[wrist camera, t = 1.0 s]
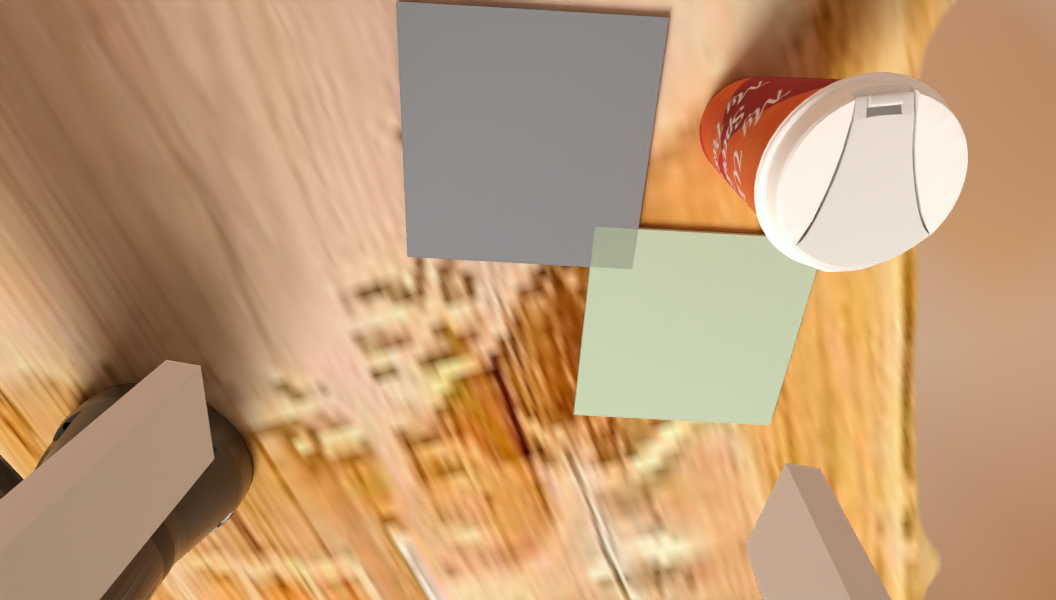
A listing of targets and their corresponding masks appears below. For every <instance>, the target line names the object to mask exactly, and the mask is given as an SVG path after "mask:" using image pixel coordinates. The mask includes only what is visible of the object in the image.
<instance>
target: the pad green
mask: <svg viewBox="0 0 1056 600" xmlns="http://www.w3.org/2000/svg"><path fill="white" fill-rule="evenodd" d="M599 228H600V229H599ZM603 228H604V230H603ZM605 228H606V230H605ZM607 228H608V227H595V234H594V239H595V240H598V241H595V240H594V239H593V248H592V250H593V251H592V252H593V253H592V254H594V255H593V257H591V267H590V268H589V278H588V287H587V296H586V305H585V314H584V323H583V332H582V341H581V350H580V359H579V368H578V377H577V387H576V396H575V405H574V415H590V416H609V417H627V418H645V419H664V420H682V421H700V422H719V423H737V424H755V425H770V423H771V420H772V416H773V413H774V410H775V407H776V403H777V400H778V397H779V393H780V390H781V387H782V384H783V380H784V377H785V374H786V370H787V367H788V364H789V361H790V357H791V354H792V351H793V347H794V344H795V341H796V338H797V334H798V331H799V328H800V324H801V321H802V318H803V315H804V311H805V308H806V305H807V301H808V298H809V295H810V292H811V288H812V285H813V282H814V278H815V275H816V272H817V268H814V267H812V266H809V265H805V264H802V263H799V262H797V261H795V260H793V259H791V258H789V257H787V256H786V255H785V254H783V253H782V252H781V251H779V250H778V249H777V248H776V247H775V246H774V245H773V244H772V243H771V241H770V240H769V239H768V238H767V236H766V235H764V234H746V233H729V232H711V231H694V230H676V229H658V228H641V227H639V228H638V229H631V233H630V229H627V228H626V229H627V230H628V231H627V230H626V229H625V228H619V229H618V228H617V232H616V228H611V230H610V229H609V228H608V230H609V231H607ZM601 229H602V232H601ZM623 229H625V230H624V231H623ZM619 230H620V234H618V233H619ZM621 230H622V231H621ZM632 230H633V231H632ZM598 231H600V232H599V233H600V234H599V233H598ZM605 231H606V233H605ZM625 231H626V232H625ZM596 232H597V233H596ZM603 232H604V233H603ZM607 232H608V233H609V237H608V233H607ZM612 232H613V233H612ZM614 232H615V233H614ZM621 232H623V233H622V234H621ZM627 232H629V233H627ZM635 232H636V233H635ZM637 232H638V233H637ZM601 233H602V234H601ZM610 234H611V235H610ZM630 234H631V235H630ZM637 234H638V235H637ZM605 235H606V237H607V238H603V237H605ZM614 235H615V239H614ZM616 235H617V236H616ZM618 235H620V238H619V237H618ZM623 235H624V236H623ZM634 235H637V236H634ZM596 236H597V237H596ZM599 236H600V239H599ZM632 236H633V237H632ZM617 237H618V238H617ZM621 237H622V238H621ZM625 237H627V238H628V239H629V242H627V241H628V239H627V238H626V239H627V240H626V241H625ZM630 237H631V238H630ZM634 237H635V239H636V238H637V239H636V241H634V240H635V239H634ZM596 238H597V239H596ZM601 238H602V240H601ZM632 238H633V239H634V240H633V239H632ZM603 239H604V241H603ZM605 239H606V240H605ZM607 239H608V241H609V242H608V241H607ZM619 239H620V241H619ZM600 240H601V241H600ZM610 240H611V241H610ZM614 240H615V243H614ZM616 240H617V242H618V243H617V244H618V245H617V244H616ZM605 241H606V242H605ZM600 242H601V243H600ZM603 242H604V244H605V245H606V246H605V245H603ZM607 242H608V243H607ZM610 242H611V244H610ZM612 242H613V243H612ZM621 242H622V243H621ZM624 242H625V243H624ZM632 242H634V243H635V242H636V243H635V244H636V245H635V244H634V243H632ZM594 243H595V244H594ZM598 243H599V244H598ZM628 243H629V246H628ZM630 243H631V244H630ZM597 244H598V245H597ZM619 244H620V245H619ZM594 245H595V247H596V248H595V250H594ZM609 245H610V246H609ZM612 245H613V246H612ZM621 245H622V246H621ZM625 245H626V246H628V247H626V246H625ZM630 245H631V246H630ZM634 245H635V247H634ZM603 246H604V247H603ZM617 246H619V247H620V248H619V247H618V248H617ZM623 246H625V247H624V248H623ZM598 247H599V248H598ZM600 247H602V248H600ZM608 247H610V249H609V248H608ZM612 247H613V248H612ZM614 247H615V249H616V248H617V249H616V250H617V251H618V252H617V251H616V250H615V251H614ZM632 247H634V248H633V249H632ZM603 248H604V249H603ZM625 248H627V249H625ZM598 249H599V250H598ZM601 249H602V252H600V251H601ZM608 249H609V250H610V251H611V253H610V251H608ZM612 249H613V250H612ZM596 250H597V251H596ZM623 250H624V253H623ZM626 250H627V252H626ZM628 250H629V251H628ZM634 250H635V254H634V252H633V251H634ZM604 251H605V252H604ZM612 251H613V252H612ZM594 252H595V253H594ZM596 252H597V253H596ZM603 252H604V253H603ZM616 252H617V253H616ZM628 252H629V253H628ZM630 252H631V253H630ZM600 253H602V255H601V254H600ZM609 253H610V254H609ZM625 253H626V256H625ZM632 253H633V255H632ZM598 254H600V255H598ZM606 254H607V255H606ZM608 254H609V255H608ZM612 254H613V258H612ZM615 254H616V255H617V254H618V255H619V256H618V255H617V256H618V257H620V258H618V257H617V256H616V255H615ZM630 254H631V255H630ZM596 255H597V256H596ZM614 255H615V256H614ZM623 255H624V256H623ZM600 256H601V257H600ZM607 256H608V259H609V258H610V259H609V260H611V265H610V261H609V260H608V259H607V258H605V257H607ZM632 256H633V261H632ZM621 257H622V258H621ZM625 257H627V258H625ZM628 257H629V258H628ZM630 257H631V259H630ZM603 258H604V259H603ZM614 258H615V259H614ZM616 258H617V259H616ZM592 259H593V260H592ZM601 259H602V260H601ZM605 259H606V260H605ZM621 259H622V260H621ZM626 259H627V260H626ZM628 259H629V261H628ZM598 260H599V261H598ZM603 260H604V261H603ZM607 260H608V261H607ZM614 260H615V261H614ZM617 260H618V261H617ZM623 260H624V264H625V265H626V264H627V265H626V266H625V265H624V264H623ZM596 261H597V263H596ZM621 261H622V263H621ZM630 261H631V262H630ZM599 262H600V263H599ZM605 262H607V263H605ZM612 262H613V263H612ZM592 263H593V265H592ZM598 263H599V264H598ZM614 263H615V264H614ZM618 263H619V264H618ZM630 263H631V264H630ZM616 264H618V265H616ZM621 264H622V265H621ZM628 264H629V265H628ZM596 265H597V266H596ZM601 265H602V266H601ZM607 265H609V266H608V268H607V267H606V266H607ZM612 265H613V266H612ZM630 265H631V266H630ZM632 265H633V266H632ZM599 266H600V267H599ZM616 266H617V267H616ZM623 266H625V267H623ZM601 267H602V268H601ZM603 267H604V268H603ZM605 267H606V268H605ZM615 267H616V268H615ZM619 267H620V268H619ZM621 267H622V269H621ZM626 267H628V268H629V269H628V268H626ZM630 267H631V269H630Z"/></svg>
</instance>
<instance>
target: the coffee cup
mask: <svg viewBox="0 0 1056 600" xmlns="http://www.w3.org/2000/svg"><path fill="white" fill-rule="evenodd" d="M700 141H701V146H702V149H703V151H704V153H705V155H706V157H707V158H708V160H709V161H710V163H711V164H712V165H713V166H714V168H715V169H716V170H717V171H718V172H719V173H720V175H721V176H722V177H723V178H724V179H725V180H726V181H727V183H728V184H729V185H730V186H731V187H732V188H733V189H734V190H735V192H736V193H737V194H738V195H739V196H740V197H741V198H742V199H743V200H744V201H745V203H746V204H747V205H748V206H749V207H750V208H751V209H752V210H753V211H754V212H755V214H756V215H757V217H758V220H759V223H760V225H761V228H762V229H763V231H764V233H765V234H766V236H767V238H768V239H769V240H770V241H771V243H772V244H773V245H774V246H775V247H776V248H777V249H778V250H779V251H781V252H782V253H783V254H785V255H786V256H787V257H789V258H791V259H793V260H795V261H797V262H799V263H802V264H805V265H809V266H812V267H814V268H817V269H820V270H823V271H825V272H832V271H853V270H860V269H865V268H868V267H871V266H873V265H876V264H878V263H881V262H885V261H887V260H890V259H892V258H894V257H896V256H899V255H900V254H902V253H904V252H905V251H907V250H909V249H910V248H912V247H913V246H915V245H916V244H918V243H919V242H921V241H922V240H924V239H925V238H927V237H928V236H929V235H931V234H932V233H933V232H934V231H935V230H936V229H937V228H938V227H939V225H940V224H941V223H942V222H943V221H944V219H945V218H946V217H947V215H948V214H949V212H950V211H951V209H952V208H953V206H954V205H955V202H956V200H957V199H958V196H959V194H960V192H961V189H962V186H963V183H964V180H965V177H966V171H967V165H968V149H967V144H966V139H965V135H964V132H963V130H962V127H961V125H960V122H959V121H958V119H957V118H956V117H955V115H954V114H953V112H952V111H951V109H950V108H949V106H948V105H947V103H946V102H945V101H944V99H943V98H942V97H941V96H940V95H939V94H938V93H937V92H936V91H935V90H934V89H933V88H931V87H930V86H928V85H927V84H925V83H923V82H922V81H920V80H918V79H915V78H912V77H909V76H906V75H902V74H896V73H890V72H873V73H866V74H860V75H854V76H851V77H848V78H845V79H842V80H841V79H818V78H792V77H752V78H745V79H742V80H738V81H736V82H734V83H731V84H730V85H728V86H726V87H725V88H723V89H722V90H721V91H720V92H719V93H717V94H716V95H715V97H714V98H713V99H712V100H711V101H710V103H709V104H708V106H707V108H706V110H705V112H704V114H703V117H702V120H701V125H700Z"/></svg>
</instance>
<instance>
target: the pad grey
mask: <svg viewBox="0 0 1056 600" xmlns="http://www.w3.org/2000/svg"><path fill="white" fill-rule="evenodd" d="M396 8H397V30H398V53H399V75H400V98H401V120H402V143H403V165H404V187H405V210H406V232H407V255H408V257H422V258H440V259H457V260H475V261H493V262H511V263H528V264H546V265H564V266H582V267H591V257H593V255H594V254H592V253H593V252H592V251H593V250H592V248H593V239H594V234H595V227H608V228H609V229H610V230H611V228H616V232H617V228H618V229H619V228H625V229H626V228H627V229H630V233H631V229H638V228H639V221H640V214H641V207H642V201H643V194H644V187H645V180H646V173H647V167H648V160H649V153H650V146H651V139H652V132H653V126H654V119H655V112H656V105H657V98H658V92H659V85H660V78H661V71H662V64H663V58H664V51H665V44H666V37H667V30H668V23H669V18H668V17H652V16H635V15H618V14H601V13H584V12H568V11H551V10H534V9H517V8H500V7H484V6H467V5H450V4H433V3H416V2H399V1H396ZM608 228H607V231H609V230H608ZM599 229H600V228H599ZM625 229H623V231H624V230H625ZM627 229H626V230H627ZM603 230H604V228H603ZM605 230H606V228H605ZM621 231H622V230H621ZM627 231H628V230H627ZM632 231H633V230H632ZM599 232H600V231H598V233H599ZM601 232H602V229H601ZM625 232H626V231H625ZM596 233H597V232H596ZM603 233H604V232H603ZM605 233H606V231H605ZM607 233H608V232H607ZM612 233H613V232H612ZM614 233H615V232H614ZM622 233H623V232H621V234H622ZM627 233H629V232H627ZM635 233H636V232H635ZM637 233H638V232H637ZM599 234H600V233H599ZM601 234H602V233H601ZM618 234H620V230H619V233H618ZM610 235H611V234H610ZM630 235H631V234H630ZM637 235H638V234H637ZM637 235H634V236H637ZM616 236H617V235H616ZM623 236H624V235H623ZM596 237H597V236H596ZM608 237H609V233H608ZM618 237H619V238H620V235H618ZM618 237H617V238H618ZM632 237H633V236H632ZM603 238H607V237H606V235H605V237H603ZM621 238H622V237H621ZM626 238H627V237H625V241H626V240H627V239H628V238H627V239H626ZM630 238H631V237H630ZM596 239H597V238H596ZM599 239H600V236H599ZM614 239H615V235H614ZM632 239H633V238H632ZM634 239H635V237H634ZM634 239H633V240H634ZM636 239H637V238H636ZM636 239H635V240H634V241H636ZM594 240H595V239H594ZM601 240H602V238H601ZM601 240H600V241H601ZM605 240H606V239H605ZM595 241H598V240H595ZM603 241H604V239H603ZM607 241H608V239H607ZM610 241H611V240H610ZM619 241H620V239H619ZM605 242H606V241H605ZM608 242H609V241H608ZM608 242H607V243H608ZM627 242H629V239H628V241H627ZM600 243H601V242H600ZM612 243H613V242H612ZM614 243H615V240H614ZM617 243H618V242H617V240H616V244H617ZM621 243H622V242H621ZM624 243H625V242H624ZM632 243H634V242H632ZM635 243H636V242H635ZM635 243H634V244H635ZM594 244H595V243H594ZM598 244H599V243H598ZM598 244H597V245H598ZM610 244H611V242H610ZM630 244H631V243H630ZM603 245H605V244H604V242H603ZM617 245H618V244H617ZM619 245H620V244H619ZM635 245H636V244H635ZM635 245H634V247H635ZM605 246H606V245H605ZM609 246H610V245H609ZM612 246H613V245H612ZM621 246H622V245H621ZM625 246H626V245H625ZM625 246H623V248H624V247H625ZM628 246H629V243H628ZM628 246H626V247H628ZM630 246H631V245H630ZM603 247H604V246H603ZM618 247H619V246H617V248H618ZM634 247H632V249H633V248H634ZM595 248H596V247H595V245H594V250H595ZM598 248H599V247H598ZM600 248H602V247H600ZM608 248H609V249H610V247H608ZM612 248H613V247H612ZM617 248H616V249H617ZM619 248H620V247H619ZM603 249H604V248H603ZM609 249H608V251H610V250H609ZM616 249H615V247H614V251H615V250H616ZM625 249H627V248H625ZM598 250H599V249H598ZM612 250H613V249H612ZM596 251H597V250H596ZM616 251H617V250H616ZM628 251H629V250H628ZM600 252H602V249H601V251H600ZM604 252H605V251H604ZM604 252H603V253H604ZM612 252H613V251H612ZM617 252H618V251H617ZM617 252H616V253H617ZM626 252H627V250H626ZM633 252H634V254H635V250H634V251H633ZM594 253H595V252H594ZM596 253H597V252H596ZM610 253H611V251H610ZM610 253H609V254H610ZM623 253H624V250H623ZM628 253H629V252H628ZM630 253H631V252H630ZM600 254H601V255H602V253H600ZM600 254H598V255H600ZM609 254H608V255H609ZM606 255H607V254H606ZM615 255H616V254H615ZM615 255H614V256H615ZM617 255H618V254H617ZM617 255H616V256H617ZM630 255H631V254H630ZM632 255H633V253H632ZM596 256H597V255H596ZM618 256H619V255H618ZM618 256H617V257H618ZM623 256H624V255H623ZM625 256H626V253H625ZM600 257H601V256H600ZM605 258H607V259H608V256H607V257H605ZM612 258H613V254H612ZM618 258H620V257H618ZM621 258H622V257H621ZM625 258H627V257H625ZM628 258H629V257H628ZM603 259H604V258H603ZM609 259H610V258H609ZM609 259H608V260H609ZM614 259H615V258H614ZM616 259H617V258H616ZM630 259H631V257H630ZM592 260H593V259H592ZM601 260H602V259H601ZM605 260H606V259H605ZM608 260H607V261H608ZM621 260H622V259H621ZM626 260H627V259H626ZM598 261H599V260H598ZM603 261H604V260H603ZM609 261H610V265H611V260H609ZM614 261H615V260H614ZM617 261H618V260H617ZM628 261H629V259H628ZM632 261H633V256H632ZM630 262H631V261H630ZM596 263H597V261H596ZM599 263H600V262H599ZM599 263H598V264H599ZM605 263H607V262H605ZM612 263H613V262H612ZM621 263H622V261H621ZM614 264H615V263H614ZM618 264H619V263H618ZM618 264H616V265H618ZM623 264H624V260H623ZM630 264H631V263H630ZM592 265H593V263H592ZM621 265H622V264H621ZM624 265H625V264H624ZM626 265H627V264H626ZM626 265H625V266H626ZM628 265H629V264H628ZM596 266H597V265H596ZM601 266H602V265H601ZM608 266H609V265H607V266H606V267H607V268H608ZM612 266H613V265H612ZM625 266H623V267H625ZM630 266H631V265H630ZM632 266H633V265H632ZM599 267H600V266H599ZM606 267H605V268H606ZM616 267H617V266H616ZM616 267H615V268H616ZM601 268H602V267H601ZM603 268H604V267H603ZM619 268H620V267H619ZM626 268H628V267H626ZM621 269H622V267H621ZM628 269H629V268H628ZM630 269H631V267H630Z"/></svg>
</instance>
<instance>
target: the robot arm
mask: <svg viewBox="0 0 1056 600" xmlns="http://www.w3.org/2000/svg"><path fill="white" fill-rule="evenodd" d="M251 481H252V463H251V458H250V455H249V452H248V450H247V447H246V445H245V444H244V442H243V440H242V438H241V437H240V435H239V434H238V433H237V431H236V430H235V429H234V428H233V427H232V426H231V424H230V423H229V422H228V421H227V420H225V419H224V418H223V417H222V416H221V415H220V414H219V413H217V412H216V411H215V410H213V409H212V408H210V407H209V406H207V405H206V399H205V392H204V385H203V379H202V372H201V365H195V364H189V363H183V362H177V361H171V360H165V361H164V362H163V363H162V364H161V365H160V366H158V367H157V368H156V369H155V370H154V371H152V372H151V373H150V374H149V375H148V376H146V377H145V378H144V379H143V380H142V381H141V382H139V383H138V384H125V385H118V386H114V387H110V388H107V389H104V390H102V391H100V392H98V393H96V394H94V395H93V396H91V397H90V398H89V399H87V400H86V401H85V402H84V403H83V404H81V405H80V406H79V407H78V408H76V409H75V410H74V411H73V412H72V413H71V414H69V415H68V417H67V418H66V419H65V420H64V421H63V422H62V424H61V425H60V427H59V428H58V430H57V432H56V434H55V436H54V438H53V442H52V443H51V444H50V446H49V447H48V449H47V450H46V451H45V453H44V455H43V456H42V458H41V460H40V461H39V463H38V465H37V466H36V468H35V470H34V472H32V473H31V474H30V475H29V476H28V477H26V478H25V479H23V478H22V477H21V476H20V475H19V474H18V473H17V472H16V471H15V470H14V469H13V468H12V467H11V466H10V464H9V463H8V462H7V461H6V460H5V459H4V458H3V457H2V456H1V455H0V600H150V599H151V597H152V596H153V594H154V593H155V591H156V590H157V588H158V587H159V585H160V584H161V582H162V581H163V579H164V578H165V577H166V575H167V574H168V572H169V571H170V569H171V568H172V566H173V565H174V564H175V563H176V562H177V561H178V560H179V559H180V558H181V557H183V556H184V555H185V554H186V553H187V552H188V551H190V550H191V549H192V548H193V547H194V546H195V545H197V544H198V543H199V542H200V541H201V540H202V539H204V538H205V537H206V536H207V535H208V534H209V533H211V532H213V531H215V530H216V529H217V528H219V527H220V526H221V525H223V524H224V523H225V522H226V521H227V520H228V519H229V518H230V517H231V516H232V515H233V513H234V512H235V511H236V509H237V508H238V506H239V505H240V503H241V501H242V500H243V498H244V497H245V495H246V493H247V492H248V490H249V487H250V485H251ZM745 548H746V551H747V554H748V557H749V560H750V563H751V566H752V569H753V572H754V576H755V579H756V582H757V585H758V588H759V591H760V594H761V597H762V600H891V598H890V596H889V595H888V593H887V591H886V589H885V587H884V585H883V584H882V582H881V580H880V578H879V576H878V574H877V573H876V571H875V569H874V567H873V565H872V563H871V562H870V560H869V558H868V556H867V554H866V552H865V551H864V549H863V547H862V545H861V543H860V541H859V540H858V538H857V536H856V534H855V532H854V530H853V528H852V527H851V525H850V523H849V521H848V519H847V517H846V516H845V514H844V512H843V510H842V508H841V506H840V505H839V503H838V501H837V499H836V497H835V495H834V494H833V492H832V490H831V488H830V486H829V484H828V483H827V481H826V479H825V477H824V475H823V473H822V472H821V470H820V468H814V467H808V466H802V465H796V464H790V463H785V465H784V467H783V469H782V471H781V473H780V476H779V478H778V480H777V482H776V484H775V486H774V488H773V490H772V492H771V494H770V496H769V498H768V500H767V502H766V504H765V506H764V509H763V511H762V513H761V515H760V517H759V519H758V521H757V523H756V525H755V527H754V529H753V531H752V533H751V535H750V537H749V540H748V542H747V544H746V546H745Z"/></svg>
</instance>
